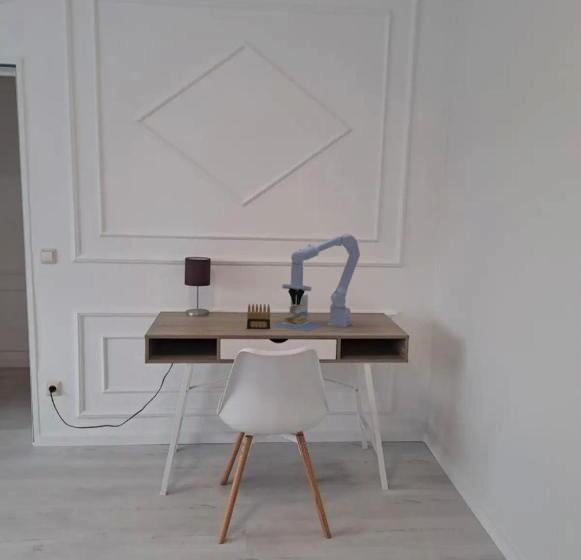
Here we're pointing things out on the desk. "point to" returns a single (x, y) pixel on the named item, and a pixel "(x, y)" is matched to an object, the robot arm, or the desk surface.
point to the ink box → (303, 304)
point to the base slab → (295, 320)
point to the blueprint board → (298, 326)
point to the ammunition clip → (258, 317)
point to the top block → (295, 311)
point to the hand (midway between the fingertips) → (296, 304)
